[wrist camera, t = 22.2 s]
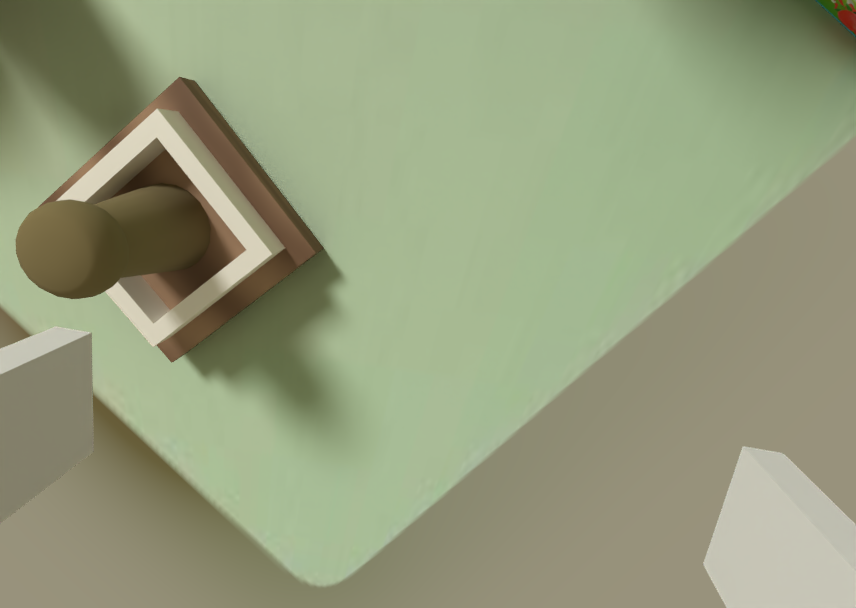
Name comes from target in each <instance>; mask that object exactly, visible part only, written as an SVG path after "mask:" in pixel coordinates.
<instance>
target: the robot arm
mask: <svg viewBox="0 0 856 608" xmlns="http://www.w3.org/2000/svg"><path fill="white" fill-rule="evenodd" d="M93 448H94V447H93V387H92V333H91V332H85V331H79V330H73V329H68V328H62V327H53V328H51V329H48V330H46V331H43V332H41V333H38V334H36V335H33V336H31V337H28V338H26V339H23V340H21V341H19V342H16V343H14V344H11V345H9V346H6V347H4V348H1V349H0V523H2V522H3V521H4V520H5V519H7V518H8V517H9V516H11V515H12V514H13V513H15V512H16V511H17V510H18V509H20V508H21V507H22V506H24V505H25V504H26V503H28V502H29V501H30V500H31V499H33V498H34V497H35V496H37V495H38V494H39V493H41V492H42V491H43V490H45V489H46V488H47V487H48V486H50V485H51V484H52V483H54V482H55V481H56V480H58V479H59V478H60V477H61V476H63V475H64V474H65V473H67V472H68V471H69V470H71V469H72V468H73V467H74V466H76V465H77V464H78V463H79V462H81V461H82V460H84V459H85V458H86V457H87V456H89V455H90V454H91V453H92V452H93V451H94V449H93ZM703 565H704V567H705V569H706V571H707V573H708V574H709V576H710V578H711V580H712V582H713V584H714V585H715V587H716V589H717V591H718V593H719V595H720V596H721V598H722V600H723V602H724V604H725V606H726V607H727V608H856V524H855V523H854V522H853V521H852V520H851V519H849V518H848V517H847V516H846V515H845V514H844V513H843V512H842V511H841V510H840V509H839V508H838V507H837V506H836V505H835V504H834V503H833V502H832V501H831V500H830V499H829V498H828V497H827V496H826V495H825V494H824V493H823V492H822V491H821V490H820V489H819V488H818V487H817V486H816V485H815V484H814V483H813V482H812V481H811V480H810V479H809V478H808V477H807V476H806V475H805V474H804V473H803V472H802V471H801V470H800V469H799V468H798V467H796V465H795V464H794V463H793V462H792V461H791V460H790V459H789V458H787V456H785V455H784V453H778V452H773V451H767V450H761V449H756V448H750V447H744V446H743V448H742V451H741V454H740V457H739V459H738V462H737V465H736V468H735V471H734V474H733V477H732V480H731V483H730V486H729V489H728V492H727V495H726V498H725V501H724V504H723V507H722V510H721V513H720V516H719V519H718V522H717V525H716V528H715V531H714V534H713V537H712V540H711V543H710V546H709V549H708V552H707V555H706V557H705V561H704V563H703Z"/></svg>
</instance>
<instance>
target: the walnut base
mask: <svg viewBox="0 0 856 608" xmlns="http://www.w3.org/2000/svg"><path fill="white" fill-rule="evenodd" d="M159 183H167V184H173V185H177V186H179V187H181V188H183V189H185V190H187V191H189V192H190V193H191V194H192V195H193V196H194V197H195V198H196V199H197V200H198V201H199V202H200V203H201V205H202V207H203V208H204V210H205V212H206V213H207V216H208V220H209V224H210V228H211V230H210V243H209V245H208V248H207V250H206V253H205V255H204V256H203V257H202V258H201V259H200V260H199V261H198V263H196V264H194V265H193V266H191V267H189V268H187V269H183V270H176V271H169V272H162V273H154V274H147V275H139V276H132V277H124V278H120V279H119V280H118V282H117V283H116V284H115V285H114V286H113V287H111V288H110V289H108V290H106V291H105V292H106V293H107V294H108V295H109V296H110V298H111V299H112V300H113V301H114V302H115V303H116V305H117V306H118V307H119V308H120V309H121V310H122V312H123V313H124V314H125V315H126V316H127V317H128V319H129V320H130V321H131V322H132V323H133V324H134V326H135V327H136V328H137V329H138V330H139V331H140V333H141V334H142V335H143V336H144V337H145V338H146V339H147V341H148V342H149V343H150V344H151V345H152V346H153V347H154V346H156V345H157V346H158V347H159V348H160V350H161V351H162V352H163V353H164V354H165V355H166V357H167V358H168V359H169V360H170V361H171V362H174V361H175V360H177V359H178V358H180V357H181V356H183V355H184V354H186V353H187V352H188V351H189V350H191V349H192V348H193V347H195V346H196V345H197V344H199V343H200V342H201V341H203V340H204V339H205V338H207V337H208V336H209V335H210V334H212V333H213V332H214V331H216V330H217V329H218V328H220V327H221V326H222V325H224V324H225V323H226V322H228V321H229V320H230V319H231V318H233V317H234V316H235V315H237V314H238V313H239V312H241V311H242V310H243V309H245V308H246V307H247V306H249V305H250V304H251V303H252V302H254V301H255V300H256V299H258V298H259V297H260V296H262V295H263V294H264V293H266V292H267V291H268V290H270V289H271V288H272V287H273V286H275V285H276V284H277V283H279V282H280V281H281V280H283V279H284V278H285V277H287V276H288V275H289V274H291V273H292V272H293V271H295V270H296V269H297V268H298V267H300V266H301V265H302V264H304V263H305V262H306V261H308V260H309V259H310V258H312V257H313V256H314V255H316V254H317V253H318V252H319V251H321V250H322V249H323V247H322V245H321V244H320V243H319V241H318V240H317V239H316V238H315V236H314V235H313V234H312V232H311V231H310V230H309V228H308V227H307V226H306V225H305V223H304V222H303V221H302V219H301V218H300V217H299V216H298V214H297V213H296V212H295V210H294V209H293V208H292V206H291V205H290V204H289V203H288V201H287V200H286V199H285V197H284V196H283V195H282V193H281V192H280V191H279V190H278V188H277V187H276V186H275V184H274V183H273V182H272V180H271V179H270V178H269V177H268V175H267V174H266V173H265V171H264V170H263V169H262V168H261V166H260V165H259V164H258V162H257V161H256V160H255V158H254V157H253V156H252V155H251V153H250V152H249V151H248V149H247V148H246V147H245V145H244V144H243V143H242V142H241V140H240V139H239V138H238V136H237V135H236V134H235V132H234V131H233V130H232V129H231V127H230V126H229V125H228V123H227V122H226V121H225V120H224V118H223V117H222V116H221V114H220V113H219V112H218V110H217V109H216V108H215V107H214V105H213V104H212V103H211V101H210V100H209V99H208V97H207V96H206V95H205V94H204V92H203V91H202V90H201V88H200V87H199V86H198V85H197V83H196V82H195V81H193V80H189V79H185V78H182V77H179V78H178V79H177V80H176V81H174V82H173V83H172V84H171V85H170V86H169V87H168V88H167V89H166V90H165V91H164V92H162V93H161V94H160V95H159V96H158V97H157V98H156V99H155V100H154V101H153V102H152V103H151V104H149V105H148V106H147V107H146V108H145V109H144V110H143V111H142V112H141V113H140V114H139V115H138V116H136V117H135V118H134V119H133V120H132V121H131V122H130V123H129V124H128V125H127V126H126V127H125V128H123V129H122V130H121V131H120V132H119V133H118V134H117V135H116V136H115V137H114V138H113V139H111V140H110V141H109V142H108V143H107V144H106V145H105V146H104V147H103V148H102V149H101V150H100V151H98V152H97V153H96V154H95V155H94V156H93V157H92V158H91V159H90V160H89V161H88V162H87V163H85V164H84V165H83V166H82V167H81V168H80V169H79V170H78V171H77V172H76V173H75V174H74V175H72V176H71V177H70V178H69V179H68V180H67V181H66V182H65V183H64V184H63V185H62V186H60V187H59V188H58V189H57V190H56V191H55V192H54V193H53V194H52V195H51V196H50V197H49V198H47V199H46V200H45V201H44V202H43V203H42V204H41V205H40V206H42V205H44V204H46V203H48V202H54V201H60V200H69V199H71V200H77V201H83V202H88V203H92V204H96V203H99V202H102V201H105V200H108V199H111V198H114V197H117V196H119V195H122V194H125V193H128V192H131V191H134V190H137V189H140V188H143V187H146V186H149V185H153V184H159ZM40 206H39V207H40Z"/></svg>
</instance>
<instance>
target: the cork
mask: <svg viewBox="0 0 856 608" xmlns="http://www.w3.org/2000/svg"><path fill="white" fill-rule="evenodd" d="M210 230H211V228H210V224H209V220H208V216H207V213H206V212H205V210H204V208H203V207H202V205H201V203H200V202H199V201H198V200H197V199H196V198H195V197H194V196H193V195H192V194H191V193H190V192H189V191H187V190H185V189H183V188H181V187H179V186H177V185H173V184H167V183H159V184H153V185H149V186H146V187H143V188H140V189H137V190H134V191H131V192H128V193H125V194H122V195H119V196H117V197H114V198H111V199H108V200H105V201H102V202H99V203H96V204H92V203H88V202H83V201H77V200H71V199H69V200H60V201H54V202H48V203H46V204H44V205H42V206H40V207H39V208H37V209H35V210H34V211H32V212H30V213H29V214H28V216H27V217H26V218H25V220H24V221H23V223H22V224H21V226H20V227H19V230H18V234H17V237H16V254H17V257H18V260H19V263H20V266H21V267H22V269H23V270H24V272H25V273H26V275H27V276H28V278H29V279H30V280H31V281H32V282H34V283H35V284H36V285H37V286H38V287H39V288H41V289H43V290H45V291H47V292H49V293H51V294H53V295H56V296H58V297H64V298H70V299H80V298H87V297H93V296H96V295H98V294H101V293H102V292H104V291H106V290H108V289H110V288H111V287H113V286H114V285H115V284H116V283H117V282H118V280H119V279H120V278H124V277H132V276H139V275H147V274H154V273H162V272H169V271H176V270H183V269H187V268H189V267H191V266H193V265H194V264H196V263H198V261H199V260H200V259H201V258H202V257H203V256H204V255H205V253H206V250H207V248H208V245H209V243H210Z"/></svg>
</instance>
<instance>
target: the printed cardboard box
mask: <svg viewBox="0 0 856 608" xmlns="http://www.w3.org/2000/svg"><path fill="white" fill-rule="evenodd" d="M815 1H816V2H818V3H819V4H820V5H821V6H822V7H823V8H824V9H825V10H826V11H827V12H829V13H830V14H831V15H832V16H833V17H834V18H835V19H836V20H837V21H838V22H840V23H841V24H842V25H843V26H844V27H845V28H846V29H847V30H848V31H849V32H850V33H852V34H853V35H854V36H855V37H856V0H815Z"/></svg>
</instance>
